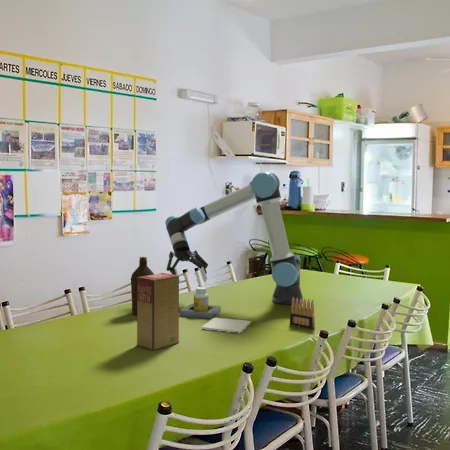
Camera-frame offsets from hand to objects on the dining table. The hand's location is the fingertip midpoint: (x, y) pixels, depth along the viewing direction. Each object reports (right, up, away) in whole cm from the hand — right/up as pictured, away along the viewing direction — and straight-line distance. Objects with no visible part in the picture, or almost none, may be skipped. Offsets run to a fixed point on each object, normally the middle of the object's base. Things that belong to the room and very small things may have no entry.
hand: (192, 281), depth 256 cm
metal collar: (+4, -14, -6) cm, 16 cm away
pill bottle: (+4, -14, -6) cm, 16 cm away
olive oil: (-21, -14, -8) cm, 26 cm away
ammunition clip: (+47, -16, -25) cm, 55 cm away
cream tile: (+16, -16, -27) cm, 35 cm away
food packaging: (-9, -18, -52) cm, 56 cm away
